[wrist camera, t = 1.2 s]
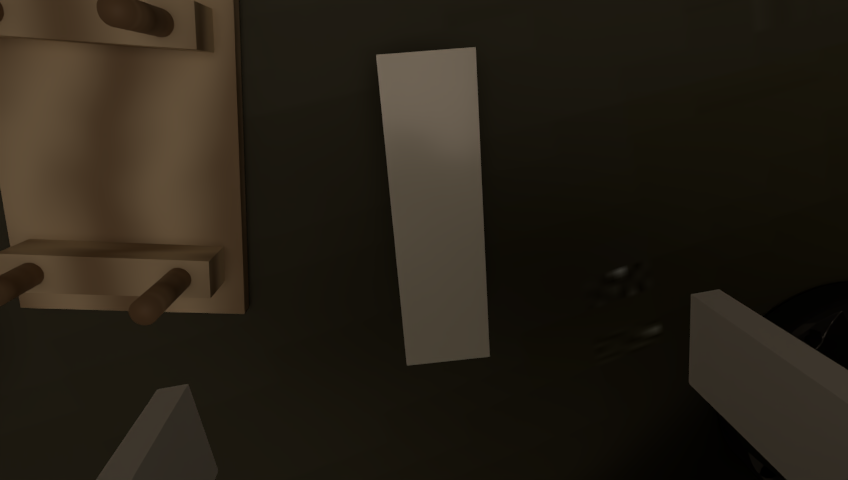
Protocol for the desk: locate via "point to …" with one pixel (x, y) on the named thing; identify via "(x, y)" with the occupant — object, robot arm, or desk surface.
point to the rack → (123, 156)
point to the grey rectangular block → (436, 201)
